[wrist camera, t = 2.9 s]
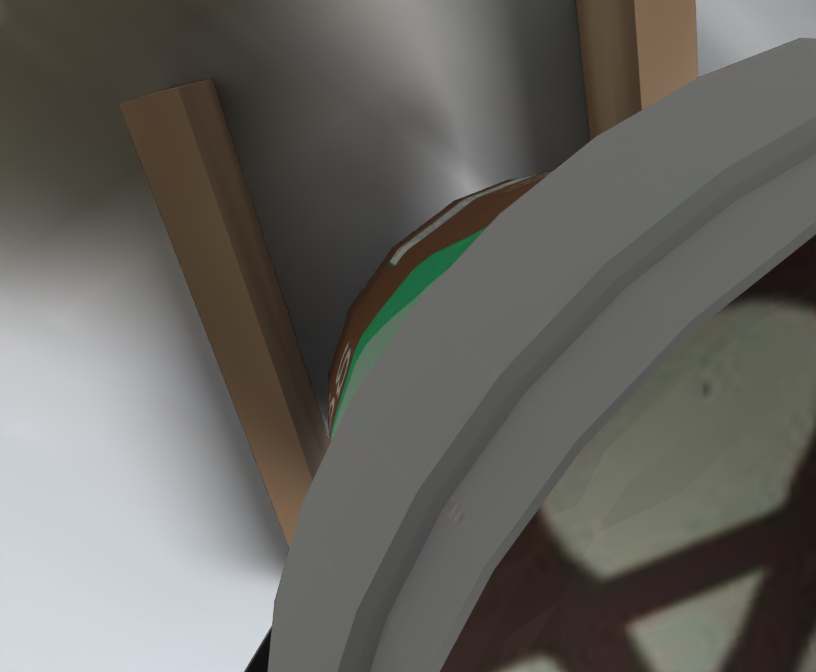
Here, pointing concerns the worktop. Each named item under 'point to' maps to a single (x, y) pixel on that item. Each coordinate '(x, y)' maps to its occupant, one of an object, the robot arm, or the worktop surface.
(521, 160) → the worktop surface
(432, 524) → the food container
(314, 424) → the dock
